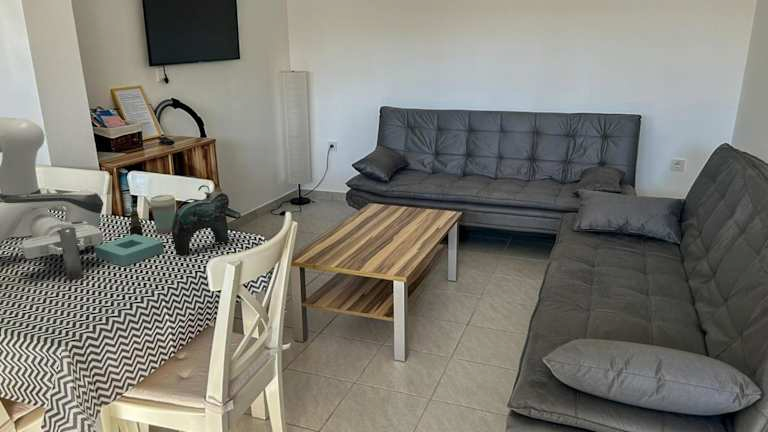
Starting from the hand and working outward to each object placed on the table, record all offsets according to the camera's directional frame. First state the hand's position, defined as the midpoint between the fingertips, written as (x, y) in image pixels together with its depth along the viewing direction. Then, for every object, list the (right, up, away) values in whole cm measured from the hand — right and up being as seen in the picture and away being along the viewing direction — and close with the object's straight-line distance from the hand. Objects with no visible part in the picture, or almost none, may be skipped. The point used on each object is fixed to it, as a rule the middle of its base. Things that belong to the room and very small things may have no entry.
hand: (71, 249), depth 160 cm
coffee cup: (+11, +4, +42) cm, 43 cm away
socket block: (+8, -3, +20) cm, 21 cm away
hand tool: (-2, +4, +45) cm, 45 cm away
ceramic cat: (+29, -1, +26) cm, 39 cm away
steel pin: (-1, -8, +3) cm, 8 cm away
